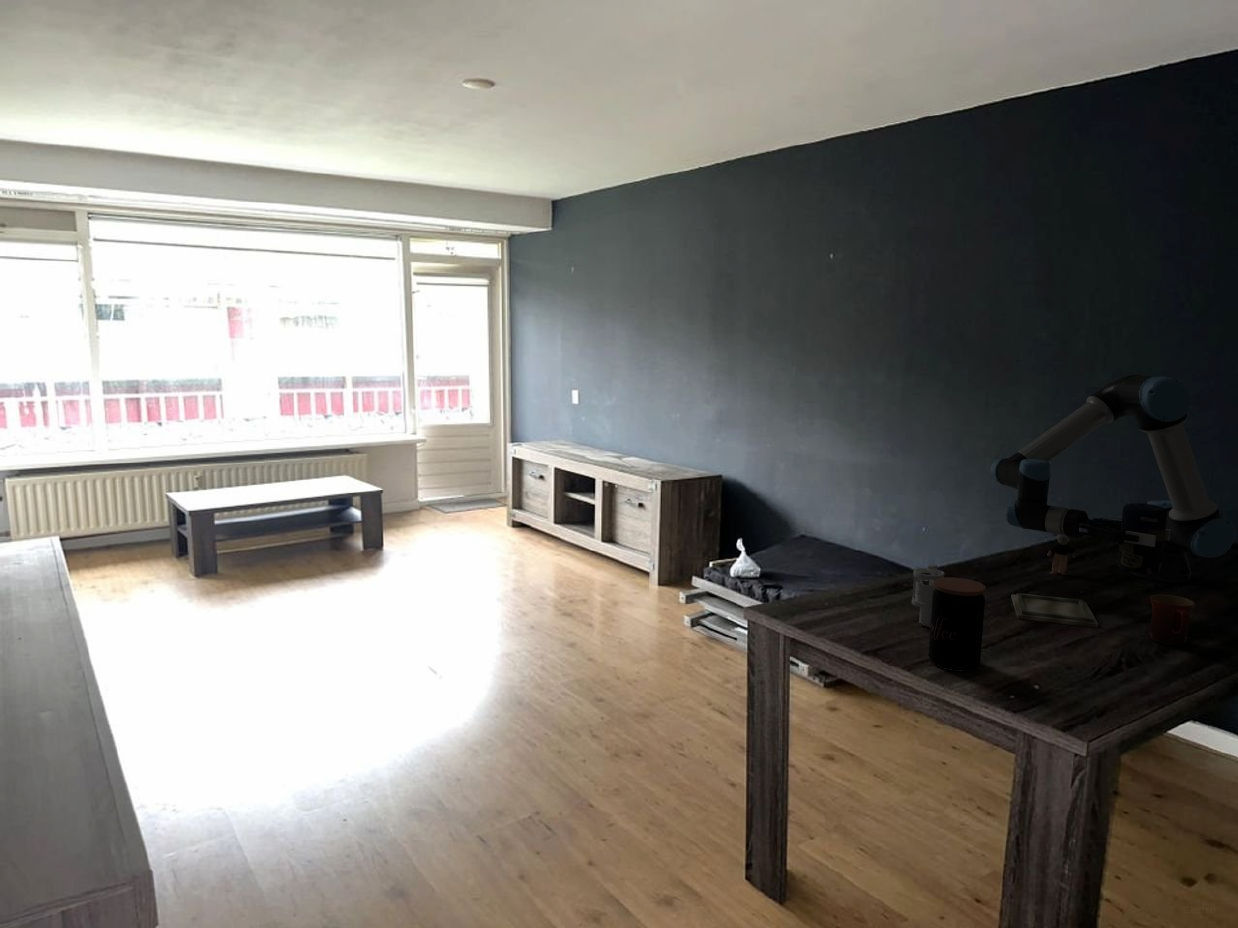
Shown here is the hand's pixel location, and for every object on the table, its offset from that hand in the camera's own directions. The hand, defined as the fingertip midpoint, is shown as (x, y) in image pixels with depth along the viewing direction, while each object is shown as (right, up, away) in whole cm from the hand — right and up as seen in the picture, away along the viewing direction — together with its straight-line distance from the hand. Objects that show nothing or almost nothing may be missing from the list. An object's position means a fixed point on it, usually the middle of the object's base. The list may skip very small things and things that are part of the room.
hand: (1162, 538), depth 203 cm
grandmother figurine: (-1, -15, +45) cm, 48 cm away
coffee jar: (-61, -26, -23) cm, 70 cm away
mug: (-5, -24, -11) cm, 27 cm away
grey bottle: (-59, -22, 0) cm, 63 cm away
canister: (-3, -9, +5) cm, 11 cm away
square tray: (-22, -20, +11) cm, 32 cm away
